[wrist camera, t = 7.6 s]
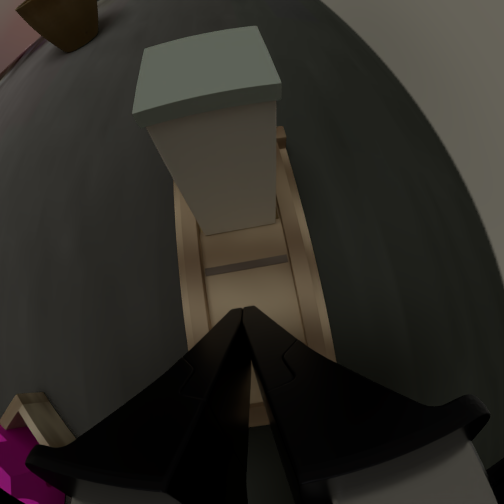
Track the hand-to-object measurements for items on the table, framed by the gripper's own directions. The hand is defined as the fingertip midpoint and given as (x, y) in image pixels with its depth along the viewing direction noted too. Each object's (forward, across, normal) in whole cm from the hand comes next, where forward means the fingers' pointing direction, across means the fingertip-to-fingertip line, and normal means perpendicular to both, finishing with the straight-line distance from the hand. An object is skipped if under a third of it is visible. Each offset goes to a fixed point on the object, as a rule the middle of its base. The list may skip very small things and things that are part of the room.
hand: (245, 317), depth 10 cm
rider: (+12, 0, +1) cm, 12 cm away
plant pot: (+44, -25, +31) cm, 59 cm away
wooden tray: (+10, 0, -4) cm, 10 cm away
